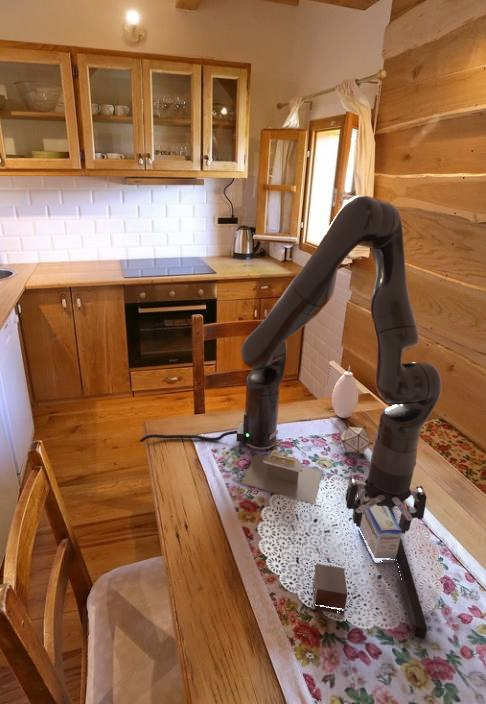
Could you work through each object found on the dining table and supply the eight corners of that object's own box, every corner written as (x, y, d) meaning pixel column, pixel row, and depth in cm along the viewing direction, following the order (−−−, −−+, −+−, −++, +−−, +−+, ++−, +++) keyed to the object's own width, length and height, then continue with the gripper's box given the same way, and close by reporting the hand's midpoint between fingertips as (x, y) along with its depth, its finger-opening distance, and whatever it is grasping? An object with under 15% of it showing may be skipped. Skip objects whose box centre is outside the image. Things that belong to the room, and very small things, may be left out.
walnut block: (314, 609, 71) (317, 589, 70) (313, 583, 76) (315, 563, 74) (343, 615, 70) (347, 594, 69) (340, 587, 75) (344, 568, 73)
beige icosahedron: (354, 459, 115) (374, 431, 115) (362, 470, 107) (384, 439, 106) (328, 441, 116) (348, 412, 116) (333, 449, 107) (355, 418, 107)
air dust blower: (331, 421, 126) (337, 369, 120) (328, 408, 134) (335, 358, 128) (357, 424, 125) (365, 372, 119) (353, 411, 132) (360, 360, 126)
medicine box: (357, 531, 87) (363, 499, 84) (377, 530, 88) (383, 498, 85) (373, 564, 80) (380, 531, 77) (395, 563, 80) (403, 529, 77)
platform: (255, 454, 111) (256, 433, 109) (322, 471, 105) (324, 450, 103) (241, 483, 100) (242, 461, 98) (314, 504, 94) (317, 481, 92)
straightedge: (414, 637, 67) (417, 626, 66) (378, 496, 97) (379, 487, 96) (424, 639, 67) (427, 628, 66) (385, 497, 97) (386, 488, 96)
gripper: (426, 453, 79) (411, 517, 84) (350, 443, 81) (340, 507, 86) (439, 479, 72) (422, 548, 77) (356, 468, 74) (344, 536, 79)
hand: (379, 526), depth 82 cm, fingers open, 8 cm apart
